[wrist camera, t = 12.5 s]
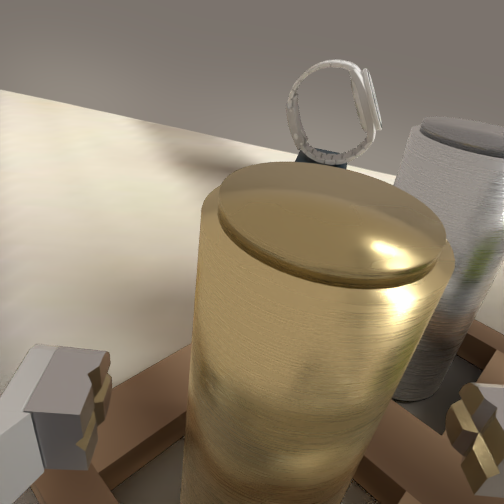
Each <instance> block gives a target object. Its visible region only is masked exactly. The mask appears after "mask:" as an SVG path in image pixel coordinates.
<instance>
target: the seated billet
mask: <svg viewBox="0 0 504 504" xmlns="http://www.w3.org/2000/svg"><path fill="white" fill-rule="evenodd" d="M393 186H395V187H397V188H399V189H401V190H403V191H405V192H407V193H408V194H410V195H412V196H414V197H415V198H417V199H418V200H419V201H421V202H422V203H424V204H425V205H426V206H427V207H429V208H430V209H431V210H432V211H433V212H434V213H435V214H436V215H437V216H438V218H439V219H440V221H441V222H442V224H443V226H444V228H445V231H446V239H447V240H448V242H449V243H450V245H451V248H452V250H453V252H454V257H455V268H454V271H453V274H452V276H451V278H450V280H449V282H448V284H447V286H446V288H445V290H444V292H443V294H442V296H441V299H440V301H439V303H438V305H437V307H436V309H435V311H434V313H433V315H432V317H431V319H430V321H429V323H428V325H427V327H426V329H425V331H424V333H423V335H422V337H421V339H420V341H419V343H418V345H417V347H416V350H415V352H414V354H413V356H412V358H411V360H410V362H409V364H408V366H407V368H406V370H405V372H404V374H403V376H402V378H401V380H400V382H399V384H398V386H397V388H396V390H395V392H394V394H393V396H392V398H394V399H398V400H404V401H419V400H423V399H426V398H429V397H431V396H432V395H434V394H435V393H436V392H437V390H438V388H439V387H440V385H441V383H442V381H443V379H444V377H445V375H446V373H447V371H448V369H449V367H450V365H451V363H452V361H453V359H454V357H455V355H456V353H457V351H458V349H459V347H460V345H461V343H462V342H463V340H464V338H465V336H466V334H467V332H468V330H469V328H470V326H471V324H472V322H473V320H474V318H475V316H476V314H477V312H478V310H479V308H480V306H481V304H482V302H483V300H484V298H485V296H486V294H487V293H488V291H489V289H490V287H491V285H492V283H493V281H494V279H495V277H496V275H497V273H498V271H499V269H500V267H501V265H502V263H503V261H504V127H501V126H497V125H493V124H488V123H483V122H478V121H473V120H467V119H460V118H452V117H440V116H437V117H436V116H431V117H425V118H424V119H423V121H422V124H421V125H417V126H414V127H412V129H411V132H410V134H409V138H408V141H407V145H406V147H405V151H404V154H403V157H402V160H401V163H400V166H399V170H398V172H397V176H396V179H395V182H394V185H393Z"/></svg>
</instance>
